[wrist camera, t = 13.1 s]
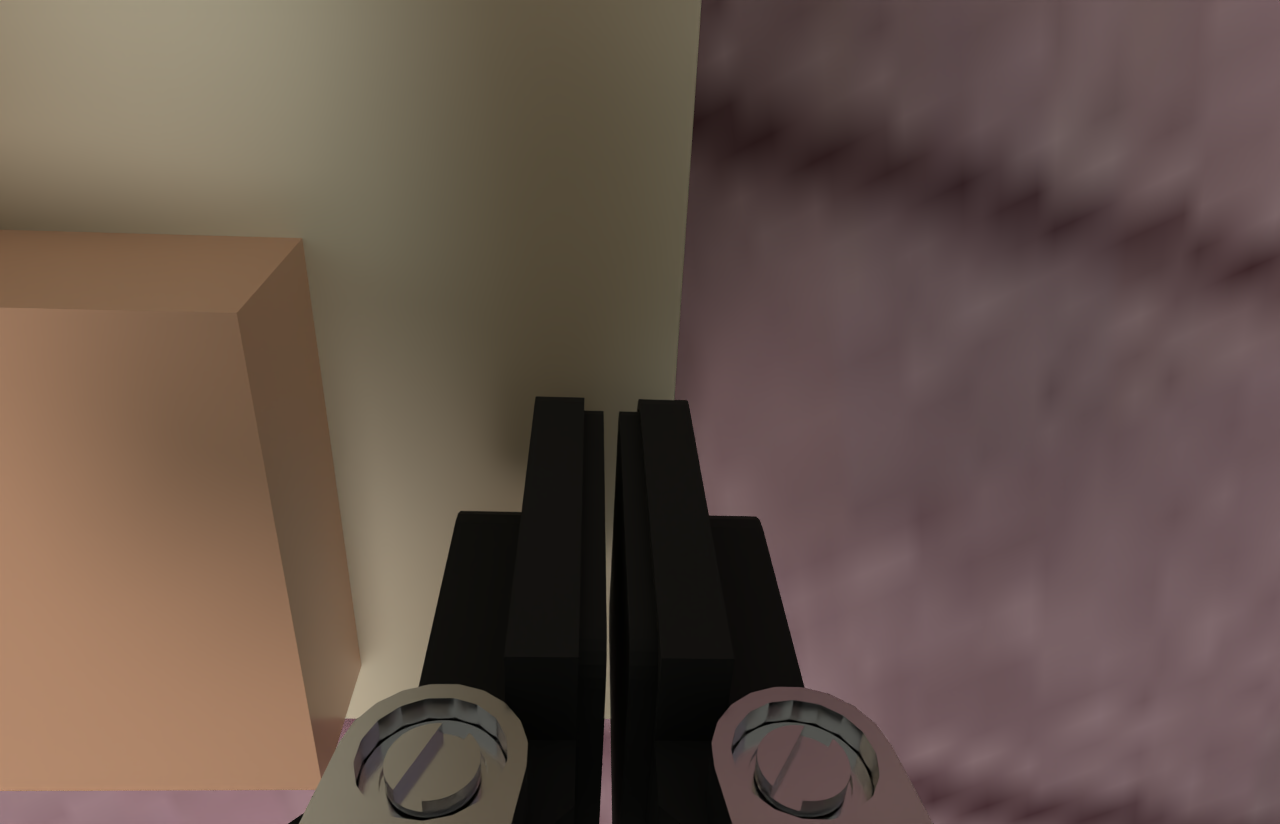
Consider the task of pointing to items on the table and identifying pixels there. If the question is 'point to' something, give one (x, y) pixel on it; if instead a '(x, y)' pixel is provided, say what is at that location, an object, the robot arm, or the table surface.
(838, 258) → the table surface
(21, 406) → the tile
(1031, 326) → the table surface
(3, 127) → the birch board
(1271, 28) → the table surface
